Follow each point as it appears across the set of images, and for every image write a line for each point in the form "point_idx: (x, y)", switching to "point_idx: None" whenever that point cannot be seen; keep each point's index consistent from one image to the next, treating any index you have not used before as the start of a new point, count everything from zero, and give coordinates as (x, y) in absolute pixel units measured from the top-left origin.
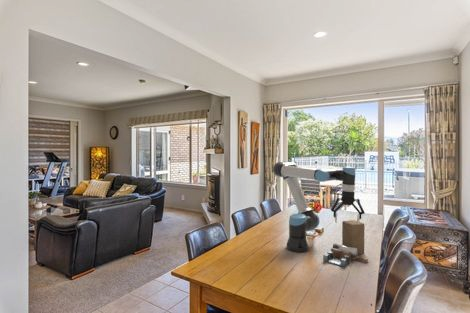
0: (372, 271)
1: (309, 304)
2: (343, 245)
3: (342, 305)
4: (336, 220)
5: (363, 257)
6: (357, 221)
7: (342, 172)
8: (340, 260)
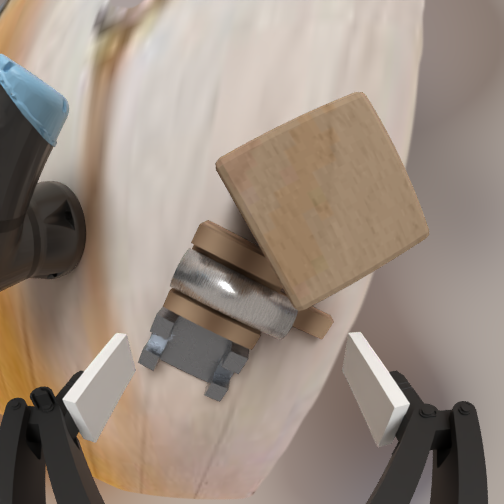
0: (312, 393)
1: (154, 491)
2: (225, 296)
3: (204, 495)
4: (124, 383)
5: (316, 315)
6: (354, 362)
7: None
8: (210, 345)
